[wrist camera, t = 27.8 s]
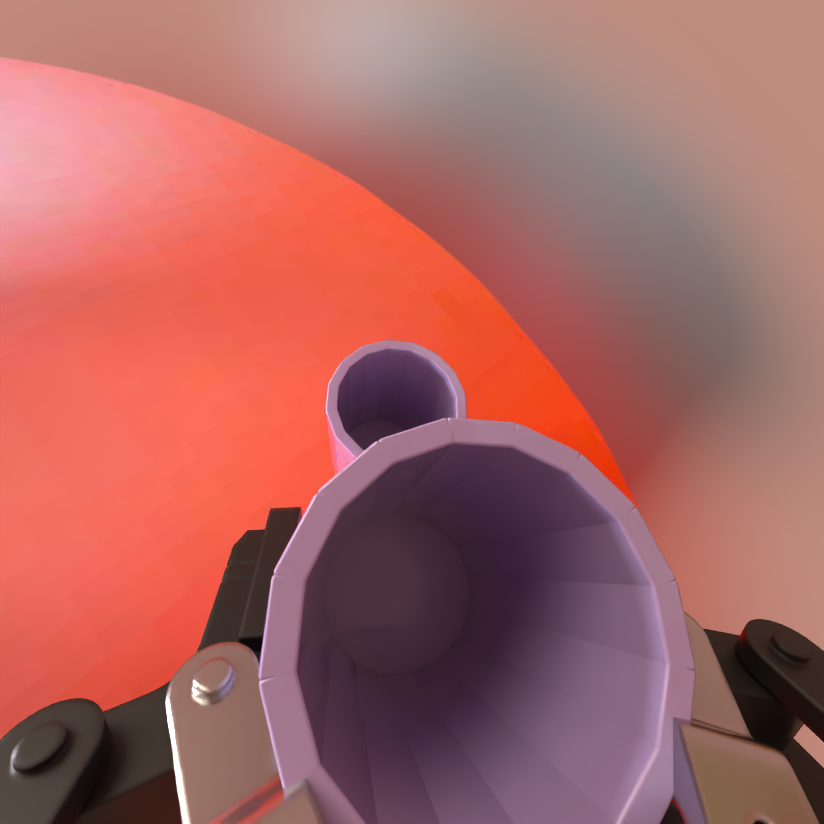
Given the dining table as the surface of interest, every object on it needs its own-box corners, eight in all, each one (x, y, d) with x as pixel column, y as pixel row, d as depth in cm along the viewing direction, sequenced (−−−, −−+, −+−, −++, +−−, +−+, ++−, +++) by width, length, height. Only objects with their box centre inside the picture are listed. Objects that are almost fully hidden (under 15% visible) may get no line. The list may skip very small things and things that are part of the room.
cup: (313, 457, 25) (296, 393, 16) (381, 401, 27) (400, 317, 18) (376, 527, 24) (395, 502, 15) (442, 464, 26) (493, 408, 17)
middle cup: (278, 587, 14) (157, 626, 5) (399, 476, 16) (479, 352, 7) (393, 728, 13) (519, 1118, 4) (505, 590, 15) (760, 624, 6)
